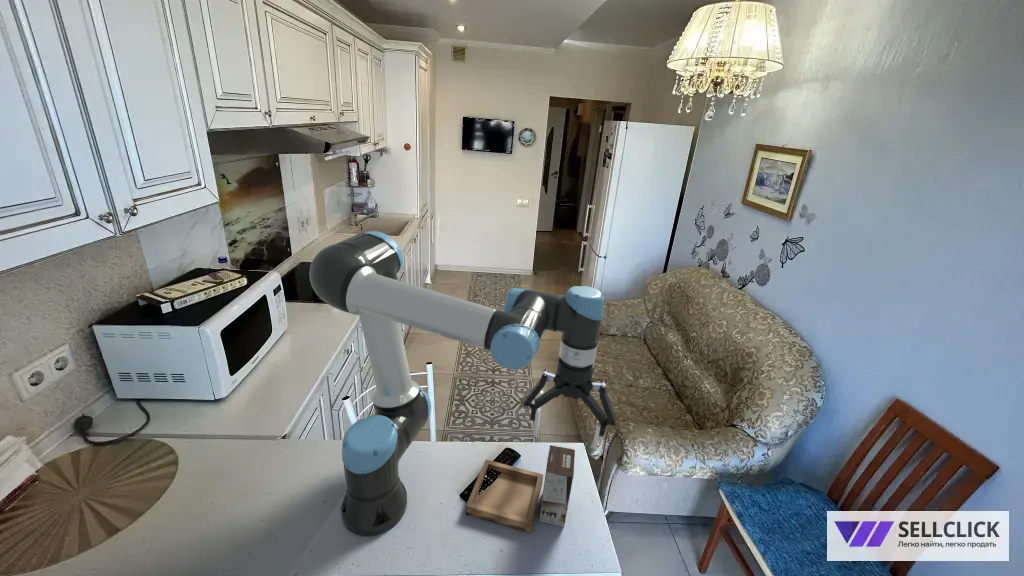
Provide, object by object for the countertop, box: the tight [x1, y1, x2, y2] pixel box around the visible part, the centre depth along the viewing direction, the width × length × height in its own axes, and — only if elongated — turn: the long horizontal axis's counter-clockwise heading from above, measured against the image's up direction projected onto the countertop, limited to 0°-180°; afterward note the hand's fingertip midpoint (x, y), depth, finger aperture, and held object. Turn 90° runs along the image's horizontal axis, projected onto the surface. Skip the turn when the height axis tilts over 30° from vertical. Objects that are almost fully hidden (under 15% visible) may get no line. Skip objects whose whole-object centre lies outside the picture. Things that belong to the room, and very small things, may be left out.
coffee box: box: [538, 444, 576, 528], centre depth 99 cm, size 9×6×16 cm
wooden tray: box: [465, 459, 544, 534], centre depth 103 cm, size 16×15×3 cm
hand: (565, 438), depth 93 cm, fingers open, 13 cm apart
